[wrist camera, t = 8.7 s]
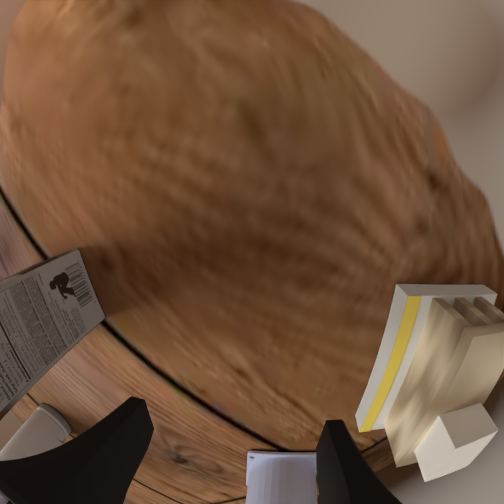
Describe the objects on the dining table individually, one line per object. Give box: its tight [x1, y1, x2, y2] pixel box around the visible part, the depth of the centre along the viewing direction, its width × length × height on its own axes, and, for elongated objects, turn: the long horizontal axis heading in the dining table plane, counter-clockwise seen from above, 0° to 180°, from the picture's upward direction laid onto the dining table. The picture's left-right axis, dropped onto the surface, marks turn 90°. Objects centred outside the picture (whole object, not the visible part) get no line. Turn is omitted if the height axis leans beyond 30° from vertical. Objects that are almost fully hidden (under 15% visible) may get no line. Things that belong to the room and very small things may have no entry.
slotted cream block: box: [383, 296, 504, 467], centre depth 13 cm, size 12×5×5 cm, turn 178°
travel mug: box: [0, 404, 71, 461], centre depth 17 cm, size 6×7×20 cm
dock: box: [355, 284, 497, 432], centre depth 17 cm, size 13×9×2 cm
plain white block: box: [414, 403, 498, 482], centre depth 10 cm, size 4×4×3 cm
